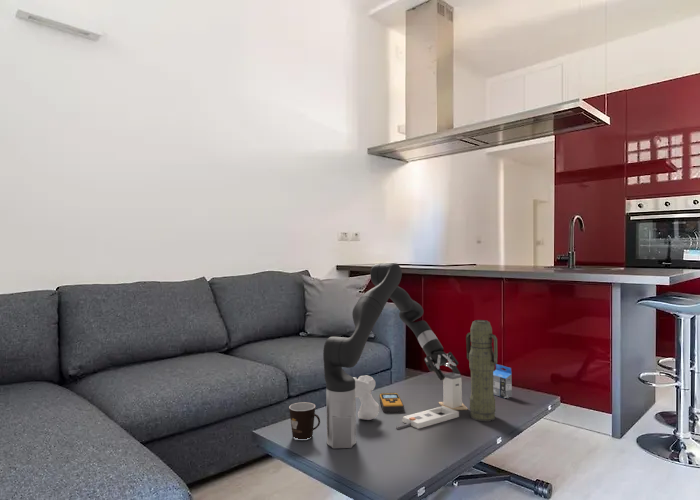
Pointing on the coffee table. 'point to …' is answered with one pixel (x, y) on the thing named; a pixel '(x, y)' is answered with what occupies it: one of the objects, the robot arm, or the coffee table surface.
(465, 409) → the cork coaster
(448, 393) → the block
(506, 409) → the coffee table surface
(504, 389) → the label tape box
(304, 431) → the coffee mug
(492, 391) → the thermos
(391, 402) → the electronic device
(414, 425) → the power strip
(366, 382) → the white irregular upright piece
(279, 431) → the coffee table surface
